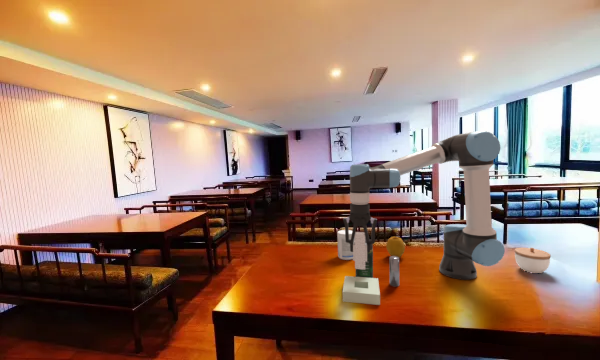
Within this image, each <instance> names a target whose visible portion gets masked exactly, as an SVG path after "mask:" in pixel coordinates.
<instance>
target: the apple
mask: <svg viewBox="0 0 600 360" xmlns="http://www.w3.org/2000/svg"><path fill="white" fill-rule="evenodd" d="M386 250H387V253H388V254H389V255H390V256H396V257H399V259H400V258H401V257H402V256H403V254H404V253H405V250H406V247H405V243H404V240H403V239H402V238H401V237H398V236H391V237H390V238H388V239H387V242H386Z"/></svg>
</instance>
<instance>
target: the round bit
mask: <svg viewBox="0 0 600 360" xmlns="http://www.w3.org/2000/svg"><path fill="white" fill-rule="evenodd" d="M388 259H389V262H388V263H389V267H388V268H389V285H390V286H391V287H400V258H399V257H396V256H391V255H390V256H389V258H388Z"/></svg>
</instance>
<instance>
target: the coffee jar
mask: <svg viewBox="0 0 600 360" xmlns="http://www.w3.org/2000/svg"><path fill="white" fill-rule="evenodd" d="M369 240H371V239H370V238H369ZM365 243H367V242H366V237H365ZM373 247H374V244H371V245H370V253H367V261H365V270H364V269H355V277H366V278H374V248H373Z"/></svg>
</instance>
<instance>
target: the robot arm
mask: <svg viewBox="0 0 600 360" xmlns="http://www.w3.org/2000/svg"><path fill="white" fill-rule="evenodd" d="M500 152H501V143H500V141H499V139H498V137H497V136H496V135H494V133H492V132H490V131H485V130H481V131H473V132H472V131H471V132H466V133H459V134H456V135H453V136H450V137H447V138H446V139H443V140H441V141H438V142H435V143H433V144H432V145H431V146H430V147H428V148H425V149H422V150H419V151H416V152H414V153H410V154H408V155H405V156H401V157H398V158H397V159H393V160H390V161H387V162H385V163H381V164H379V165H376V166H373V167H371V166H370V165H369V164H368V163H367V164H366V163H365V164H363V163H360V164H352V165H351V166H350V168H349V189H350V191H349V201H350V203H349V207H350V208H349V209H350V210H349V213H350V214H349V216H347V217H344V218H343V219H342V221H343V223H344V224H343V225H344V230H345V238H346V243H350V251H351V252H353V259H352V261H354V262H355V243H353V242H354V237H355V232H357V227H362V228H363V232H364V233H365V238H366V242H367V243H365V261H367V253H370V245H371V244H373V245H375V243H376V225H377V223H378V219H377V218H373V217H372V216H371V214H370V189H373V188H376V189H377V188H389V189H391V188H396V187H399V185H400V183H401V176H403V175H406V174H409V173H411V172H414V171H417V170H418V171H419V170H421V169H423V168H426V167H429V166H432V165H435V164H445V163H448V162H449V163H450V162H458V167H459V168H460V169H461V170H463V180H464V181H463V182H464V183H463V184H464V203H465V220H466V221H465V222H466V224H463V223H462V224H460V223H455V224H454V223H452V224H451V223H450V224H446V225H445V226H443V227H444V228H443V255H442V258H441V260H440V263H439V266H438V267H439V272H440V273H441V274H442V275H444V276H446V277H449V278H452V279H456V280H473V279H476V278H477V277H478V271H477V268H476V265H475V264H477V265H481V266H484V267H492V266H495V265H496V264H498V263H500V261H501V260H502V259H503V258H504V256H505V246H504V244H503V243H502V242H501V241H500V240H499V239H497V238H498V236H497V234H498V233H497V230H496V229H494V228H493V227H492V209H491V205H492V204H491V186H490V185H491V184H490V183H491V182H490V168H492V166H494V159H496V158H498V155H499V154H500ZM350 221H351V222H352V225H353V227H352V230H351V231H352V236H351V240H350V239H349V230H350V229H349V223H350ZM369 222H370V224H371V239H370V236H369V233H368V232H369V231H368V227H367V225H368V223H369ZM369 239H370V240H369Z"/></svg>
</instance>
